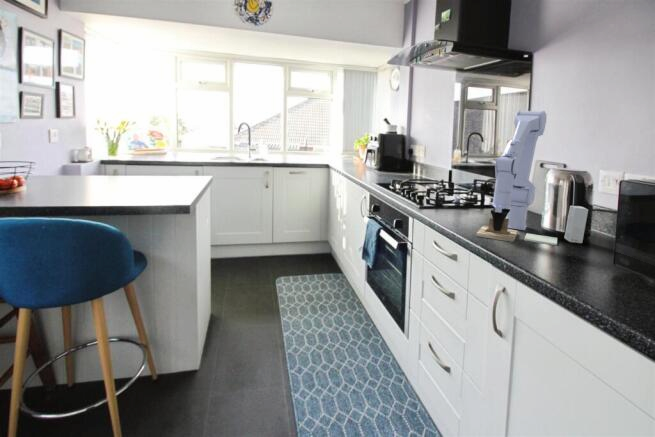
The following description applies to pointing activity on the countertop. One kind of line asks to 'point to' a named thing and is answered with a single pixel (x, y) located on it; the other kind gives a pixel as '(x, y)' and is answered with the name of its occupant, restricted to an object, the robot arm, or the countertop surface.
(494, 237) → the pocket plate
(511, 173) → the robot arm
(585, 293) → the countertop surface
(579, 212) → the skincare box
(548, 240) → the sage tile
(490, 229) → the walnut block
